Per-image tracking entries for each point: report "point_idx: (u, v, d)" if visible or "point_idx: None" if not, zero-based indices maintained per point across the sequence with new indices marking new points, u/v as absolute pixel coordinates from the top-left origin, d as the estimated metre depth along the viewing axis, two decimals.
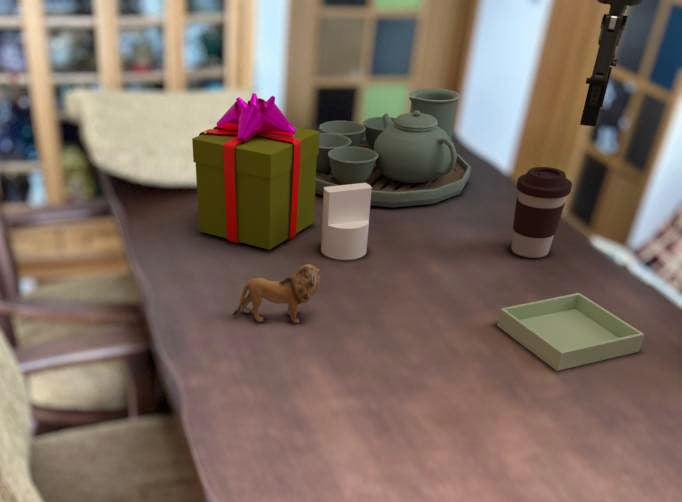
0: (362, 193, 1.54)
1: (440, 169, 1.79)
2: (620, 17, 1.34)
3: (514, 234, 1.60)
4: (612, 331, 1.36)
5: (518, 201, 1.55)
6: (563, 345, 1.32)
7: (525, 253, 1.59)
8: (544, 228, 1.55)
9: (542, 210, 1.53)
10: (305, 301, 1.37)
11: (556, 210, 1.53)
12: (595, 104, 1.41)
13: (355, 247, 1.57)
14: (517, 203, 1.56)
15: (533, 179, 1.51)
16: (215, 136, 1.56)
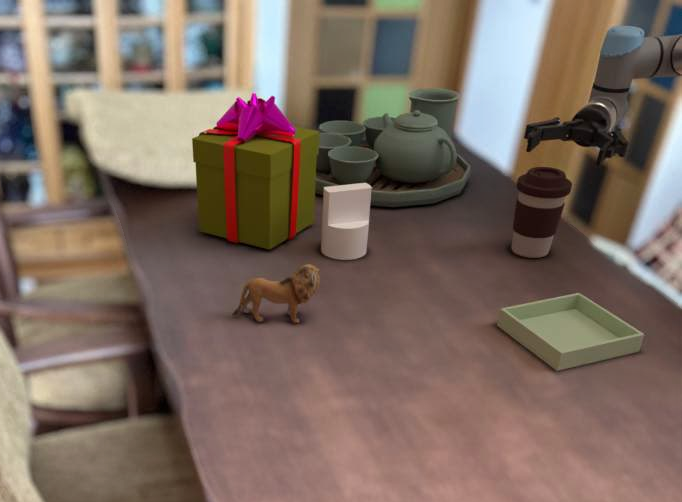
0: (362, 193, 1.54)
1: (440, 169, 1.79)
2: None
3: (514, 234, 1.60)
4: (612, 331, 1.36)
5: (518, 201, 1.55)
6: (563, 345, 1.32)
7: (525, 253, 1.59)
8: (544, 228, 1.55)
9: (542, 210, 1.53)
10: (305, 301, 1.37)
11: (556, 210, 1.53)
12: (528, 135, 1.62)
13: (355, 247, 1.57)
14: (517, 203, 1.56)
15: (533, 179, 1.51)
16: (215, 136, 1.56)
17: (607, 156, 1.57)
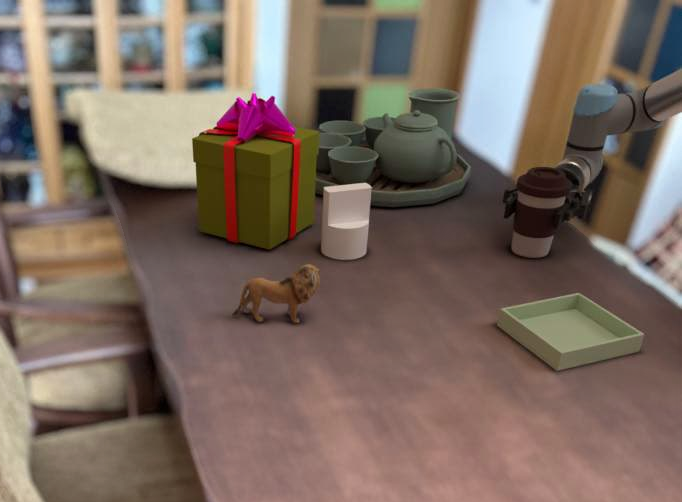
0: (362, 193, 1.54)
1: (440, 169, 1.79)
2: None
3: (514, 234, 1.60)
4: (612, 331, 1.36)
5: (518, 201, 1.55)
6: (563, 345, 1.32)
7: (525, 253, 1.59)
8: (544, 228, 1.55)
9: (542, 210, 1.53)
10: (305, 301, 1.37)
11: (556, 210, 1.53)
12: (506, 201, 1.58)
13: (355, 247, 1.57)
14: (517, 203, 1.56)
15: (533, 179, 1.51)
16: (215, 136, 1.56)
17: (565, 219, 1.54)
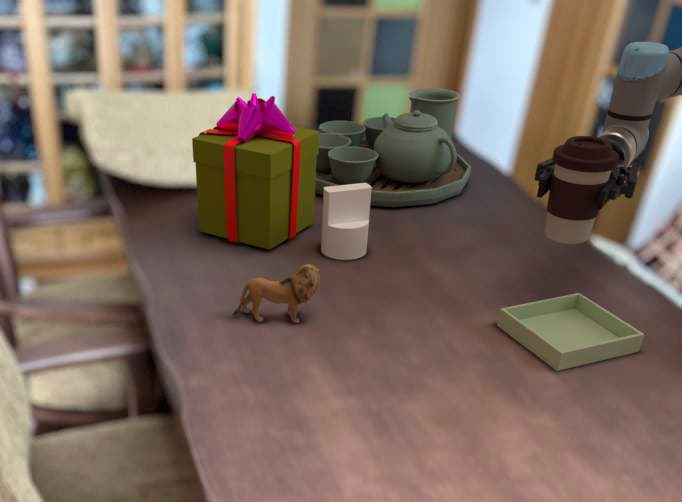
0: (362, 193, 1.54)
1: (440, 169, 1.79)
2: None
3: (548, 216, 1.35)
4: (612, 331, 1.36)
5: (554, 177, 1.31)
6: (563, 345, 1.32)
7: (561, 239, 1.35)
8: (585, 208, 1.31)
9: (583, 187, 1.28)
10: (305, 301, 1.37)
11: (600, 187, 1.29)
12: (539, 177, 1.34)
13: (355, 247, 1.57)
14: (553, 179, 1.32)
15: (573, 150, 1.27)
16: (215, 136, 1.56)
17: (610, 198, 1.30)
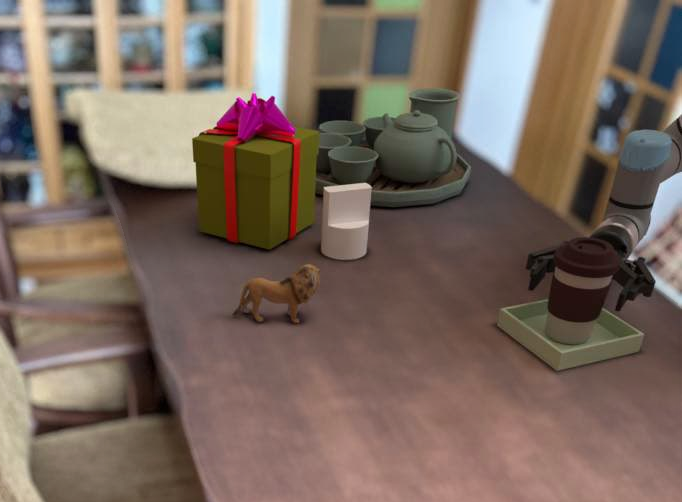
0: (362, 193, 1.54)
1: (440, 169, 1.79)
2: None
3: (549, 316, 1.32)
4: (612, 331, 1.36)
5: (555, 278, 1.28)
6: (563, 345, 1.32)
7: (562, 339, 1.32)
8: (586, 311, 1.28)
9: (585, 291, 1.25)
10: (305, 301, 1.37)
11: (602, 291, 1.26)
12: (531, 269, 1.32)
13: (355, 247, 1.57)
14: (554, 281, 1.29)
15: (575, 254, 1.24)
16: (215, 136, 1.56)
17: (629, 298, 1.27)
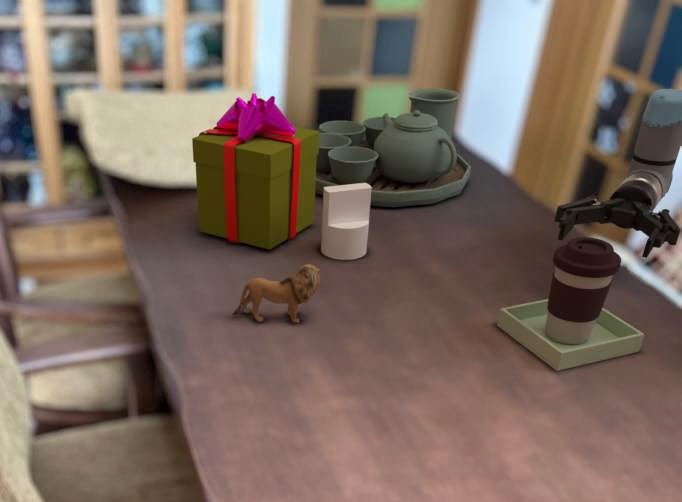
0: (362, 193, 1.54)
1: (440, 169, 1.79)
2: None
3: (549, 316, 1.32)
4: (612, 331, 1.36)
5: (555, 278, 1.28)
6: (563, 345, 1.32)
7: (562, 339, 1.32)
8: (586, 311, 1.28)
9: (585, 291, 1.25)
10: (305, 301, 1.37)
11: (602, 291, 1.26)
12: (560, 220, 1.38)
13: (355, 247, 1.57)
14: (553, 281, 1.29)
15: (574, 254, 1.24)
16: (215, 136, 1.56)
17: (655, 246, 1.33)
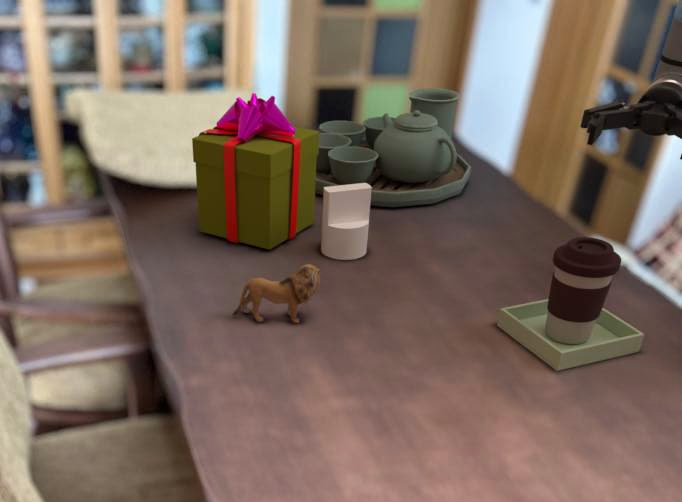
0: (362, 193, 1.54)
1: (440, 169, 1.79)
2: None
3: (549, 316, 1.32)
4: (612, 331, 1.36)
5: (555, 278, 1.28)
6: (563, 345, 1.32)
7: (562, 339, 1.32)
8: (586, 311, 1.28)
9: (585, 291, 1.25)
10: (305, 301, 1.37)
11: (602, 291, 1.26)
12: (588, 124, 1.28)
13: (355, 247, 1.57)
14: (553, 281, 1.29)
15: (574, 254, 1.24)
16: (215, 136, 1.56)
17: None
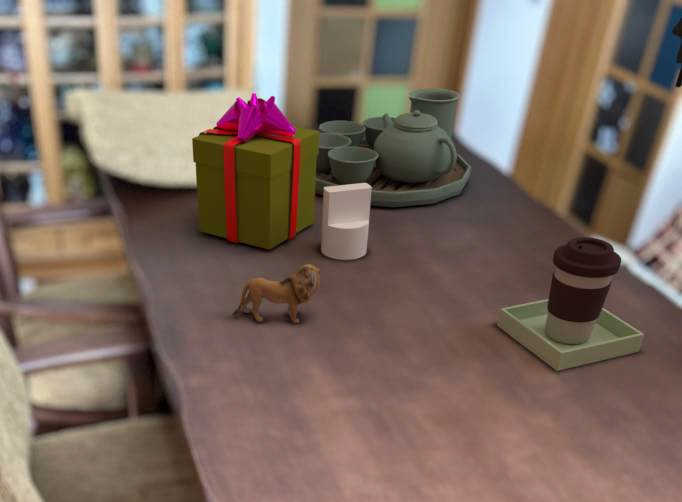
0: (362, 193, 1.54)
1: (440, 169, 1.79)
2: None
3: (549, 316, 1.32)
4: (612, 331, 1.36)
5: (555, 278, 1.28)
6: (563, 345, 1.32)
7: (562, 339, 1.32)
8: (586, 311, 1.28)
9: (585, 291, 1.25)
10: (305, 301, 1.37)
11: (602, 291, 1.26)
12: None
13: (355, 247, 1.57)
14: (554, 281, 1.29)
15: (574, 254, 1.24)
16: (215, 136, 1.56)
17: None
